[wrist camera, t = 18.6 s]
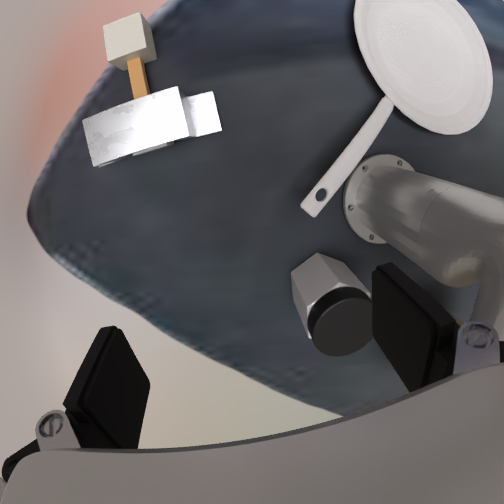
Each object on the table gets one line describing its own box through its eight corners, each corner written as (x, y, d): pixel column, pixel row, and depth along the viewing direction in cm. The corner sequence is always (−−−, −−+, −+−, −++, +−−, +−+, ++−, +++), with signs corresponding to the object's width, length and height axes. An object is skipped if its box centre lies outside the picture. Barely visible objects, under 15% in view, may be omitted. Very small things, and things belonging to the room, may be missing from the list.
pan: (495, 74, 32) (519, 73, 26) (359, 258, 42) (378, 277, 36) (398, -41, 24) (417, -56, 18) (213, 135, 34) (210, 135, 28)
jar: (307, 316, 44) (331, 369, 33) (276, 280, 42) (295, 331, 30) (355, 281, 43) (392, 326, 32) (329, 241, 40) (365, 280, 29)
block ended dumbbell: (150, 27, 28) (140, 11, 22) (176, 143, 34) (167, 144, 29) (117, 39, 28) (102, 26, 22) (141, 154, 34) (128, 157, 29)
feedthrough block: (212, 92, 32) (209, 77, 24) (221, 130, 34) (220, 127, 26) (92, 130, 32) (58, 131, 24) (100, 166, 34) (69, 176, 26)
